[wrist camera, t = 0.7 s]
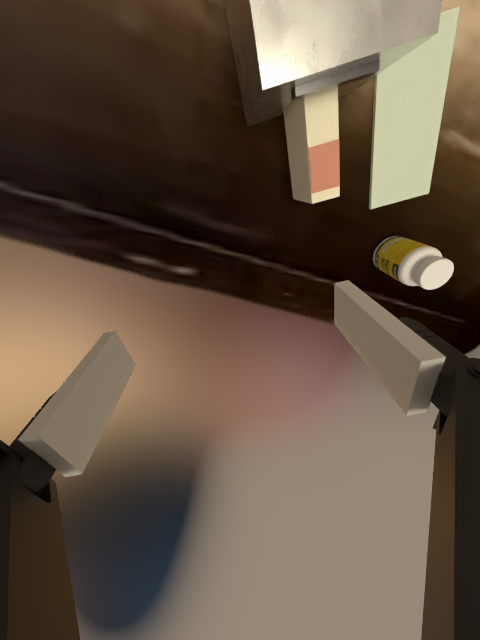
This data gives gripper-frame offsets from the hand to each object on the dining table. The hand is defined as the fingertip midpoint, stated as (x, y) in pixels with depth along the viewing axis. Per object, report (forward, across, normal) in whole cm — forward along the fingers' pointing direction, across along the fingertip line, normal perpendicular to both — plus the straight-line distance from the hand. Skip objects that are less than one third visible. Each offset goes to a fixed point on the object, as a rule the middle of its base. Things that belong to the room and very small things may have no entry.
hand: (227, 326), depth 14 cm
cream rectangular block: (+24, +12, +10) cm, 28 cm away
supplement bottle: (+24, +25, -8) cm, 35 cm away
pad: (+24, +25, +8) cm, 35 cm away
